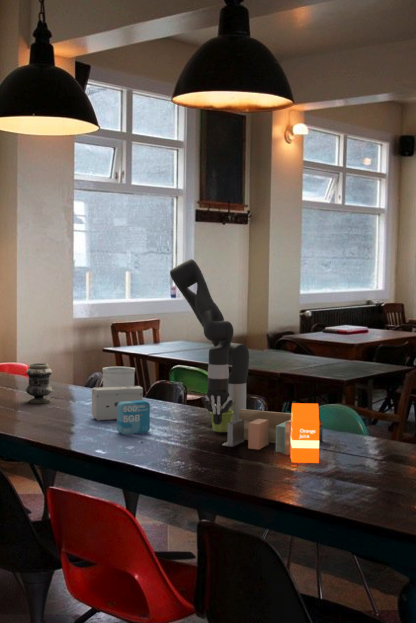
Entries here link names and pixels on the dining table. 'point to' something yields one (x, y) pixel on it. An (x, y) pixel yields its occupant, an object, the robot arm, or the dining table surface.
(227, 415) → the plant pot
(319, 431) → the supplement bottle
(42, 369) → the stone urn vase
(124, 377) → the utensil holder
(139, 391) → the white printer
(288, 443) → the rack
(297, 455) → the orange juice
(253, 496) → the dining table surface
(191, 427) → the dining table surface
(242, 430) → the bookend
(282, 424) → the teal book
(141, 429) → the data package
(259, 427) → the tan rectangular block
